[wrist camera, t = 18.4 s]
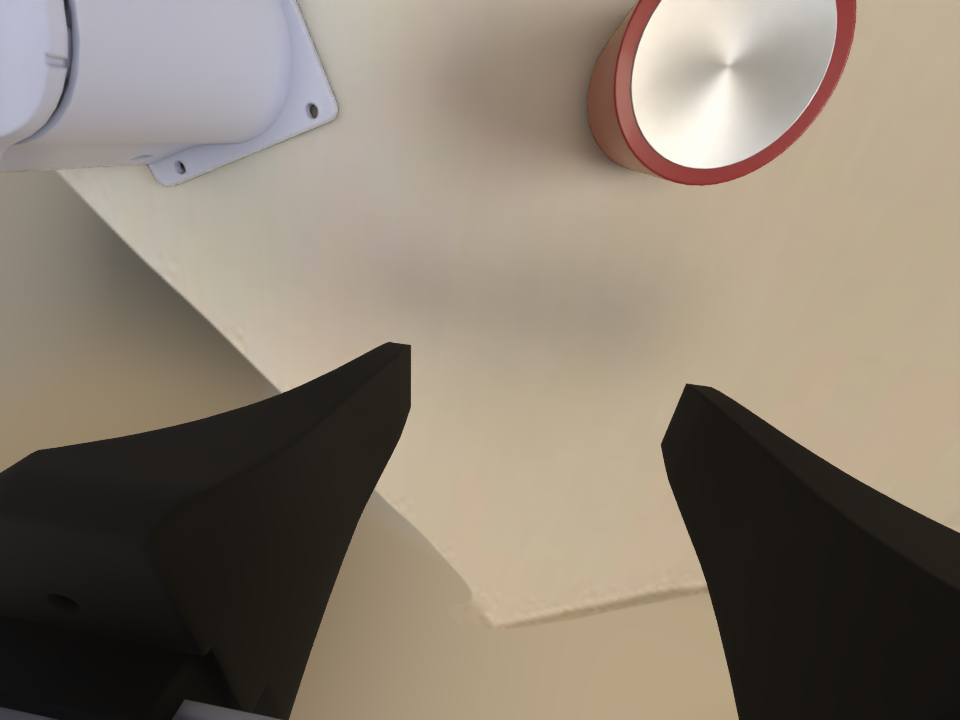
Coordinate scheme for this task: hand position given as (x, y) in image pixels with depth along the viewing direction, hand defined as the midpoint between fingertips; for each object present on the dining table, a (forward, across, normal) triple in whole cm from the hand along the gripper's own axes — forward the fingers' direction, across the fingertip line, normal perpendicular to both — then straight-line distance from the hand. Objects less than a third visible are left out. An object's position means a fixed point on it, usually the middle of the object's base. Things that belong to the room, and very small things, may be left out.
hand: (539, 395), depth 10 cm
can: (+9, -3, -8) cm, 13 cm away
